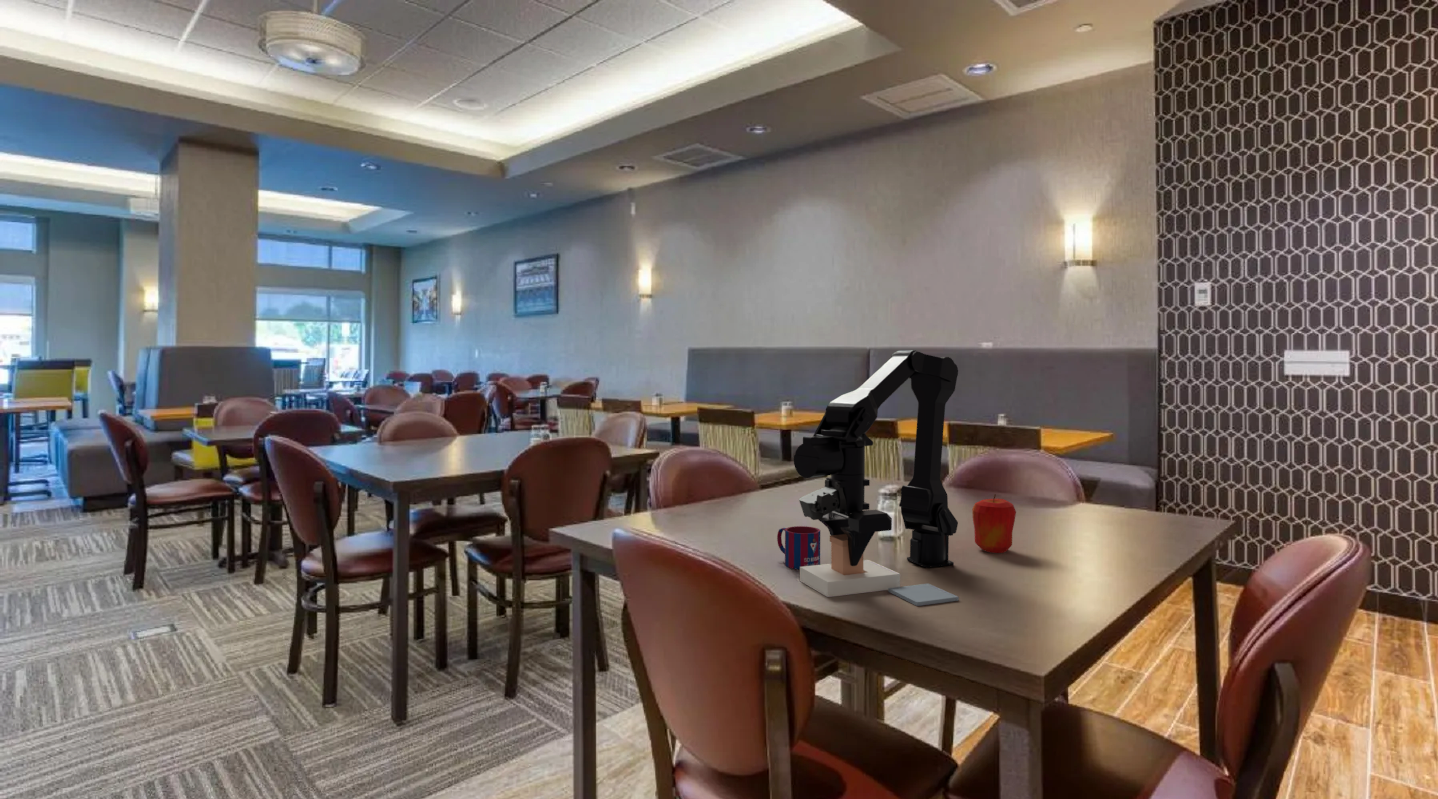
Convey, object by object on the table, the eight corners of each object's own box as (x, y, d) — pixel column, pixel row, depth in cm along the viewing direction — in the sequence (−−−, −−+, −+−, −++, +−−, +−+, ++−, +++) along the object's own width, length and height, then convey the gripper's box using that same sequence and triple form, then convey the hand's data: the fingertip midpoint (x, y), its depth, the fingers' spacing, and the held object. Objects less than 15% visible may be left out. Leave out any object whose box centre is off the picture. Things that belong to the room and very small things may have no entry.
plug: (851, 578, 131) (851, 533, 131) (865, 584, 127) (865, 538, 127) (829, 580, 130) (829, 535, 129) (842, 587, 125) (842, 541, 125)
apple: (988, 543, 158) (989, 489, 158) (1024, 551, 152) (1025, 494, 151) (963, 549, 154) (963, 492, 153) (999, 558, 147) (1000, 498, 146)
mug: (799, 571, 137) (799, 535, 136) (767, 559, 145) (767, 525, 145) (827, 566, 140) (827, 531, 140) (794, 555, 149) (795, 521, 148)
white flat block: (868, 573, 136) (868, 559, 136) (900, 588, 126) (900, 573, 126) (799, 580, 131) (799, 566, 131) (827, 597, 121) (827, 582, 121)
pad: (928, 586, 127) (928, 583, 127) (958, 600, 120) (958, 596, 120) (888, 591, 124) (888, 588, 124) (917, 606, 117) (917, 602, 117)
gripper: (782, 468, 133) (781, 554, 134) (833, 483, 116) (832, 581, 117) (836, 465, 137) (835, 548, 138) (894, 479, 120) (893, 574, 121)
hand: (847, 562), depth 128 cm, fingers closed on plug, 4 cm apart
